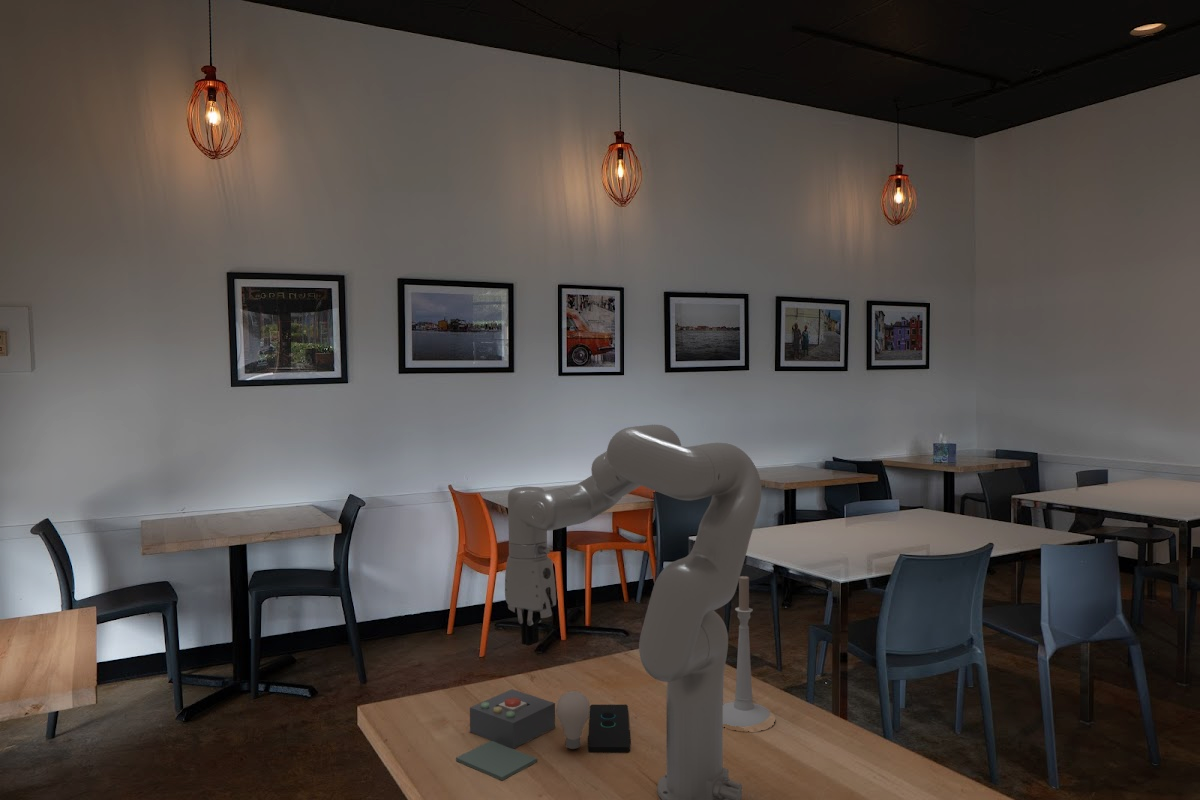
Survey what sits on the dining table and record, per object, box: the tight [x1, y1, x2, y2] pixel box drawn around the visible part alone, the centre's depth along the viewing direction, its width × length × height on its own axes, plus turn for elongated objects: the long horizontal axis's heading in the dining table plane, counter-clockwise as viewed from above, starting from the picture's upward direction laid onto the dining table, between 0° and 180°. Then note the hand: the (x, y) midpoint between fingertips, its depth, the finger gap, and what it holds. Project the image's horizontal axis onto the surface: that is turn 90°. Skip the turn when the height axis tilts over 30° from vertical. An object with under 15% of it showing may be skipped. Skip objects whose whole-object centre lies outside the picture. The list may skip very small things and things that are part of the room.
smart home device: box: [587, 704, 631, 754], centre depth 167 cm, size 8×2×20 cm
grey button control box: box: [469, 688, 556, 750], centre depth 167 cm, size 12×12×6 cm
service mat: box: [455, 740, 538, 781], centre depth 154 cm, size 12×9×1 cm
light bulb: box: [555, 690, 591, 750], centre depth 158 cm, size 7×7×11 cm
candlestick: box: [723, 574, 770, 727], centre depth 171 cm, size 13×13×30 cm
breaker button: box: [498, 698, 527, 712], centre depth 167 cm, size 4×4×4 cm
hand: (530, 643), depth 164 cm, fingers closed
